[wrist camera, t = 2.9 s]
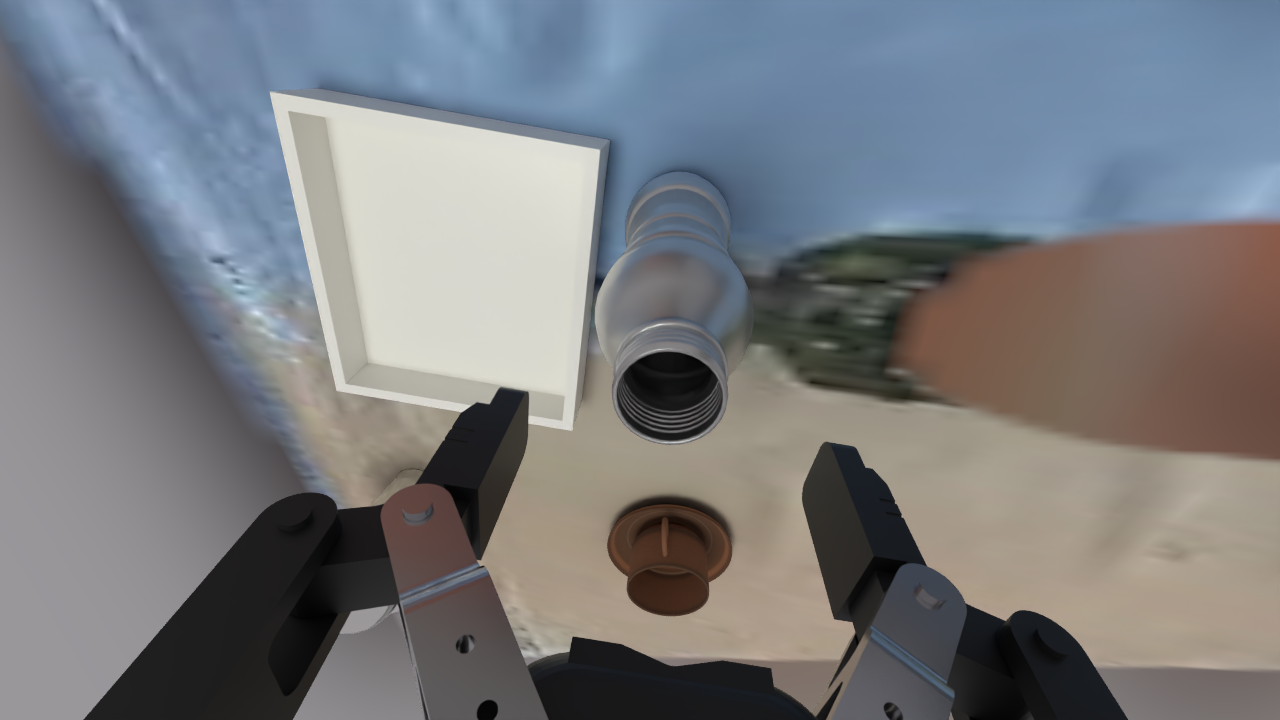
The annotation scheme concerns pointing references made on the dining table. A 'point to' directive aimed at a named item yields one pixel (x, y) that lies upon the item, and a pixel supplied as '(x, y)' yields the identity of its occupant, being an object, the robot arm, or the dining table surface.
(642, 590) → the cup and saucer
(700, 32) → the dining table surface
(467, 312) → the tray
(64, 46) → the dining table surface
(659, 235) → the plastic bottle
